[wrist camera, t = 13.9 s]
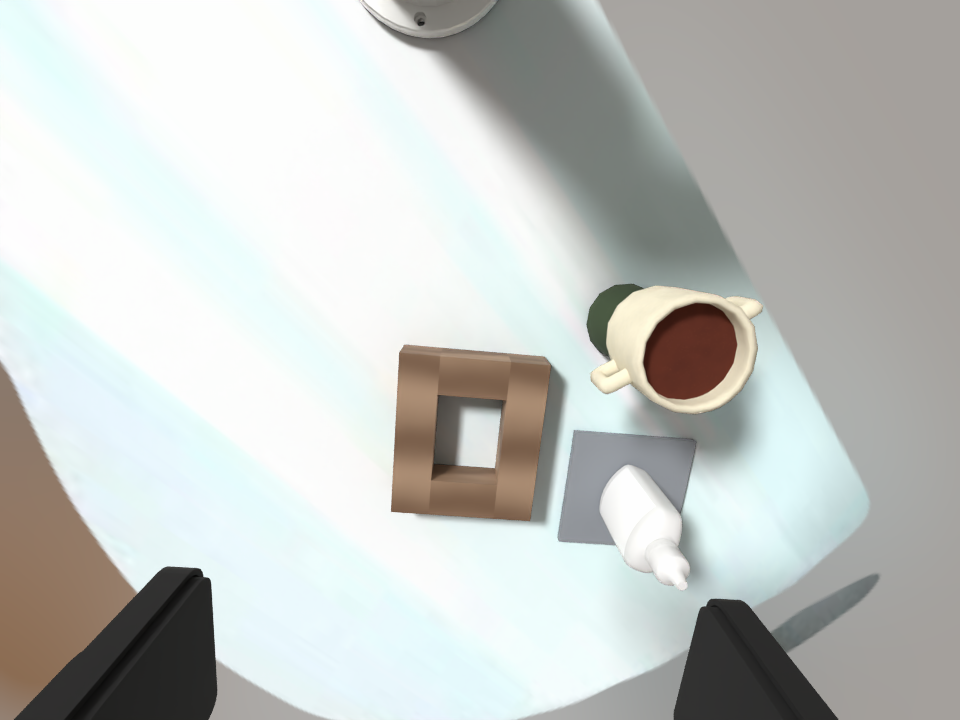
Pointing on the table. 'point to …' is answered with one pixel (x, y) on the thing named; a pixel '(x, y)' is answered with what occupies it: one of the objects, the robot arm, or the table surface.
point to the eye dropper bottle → (644, 526)
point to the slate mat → (601, 460)
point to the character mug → (674, 344)
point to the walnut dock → (518, 440)
